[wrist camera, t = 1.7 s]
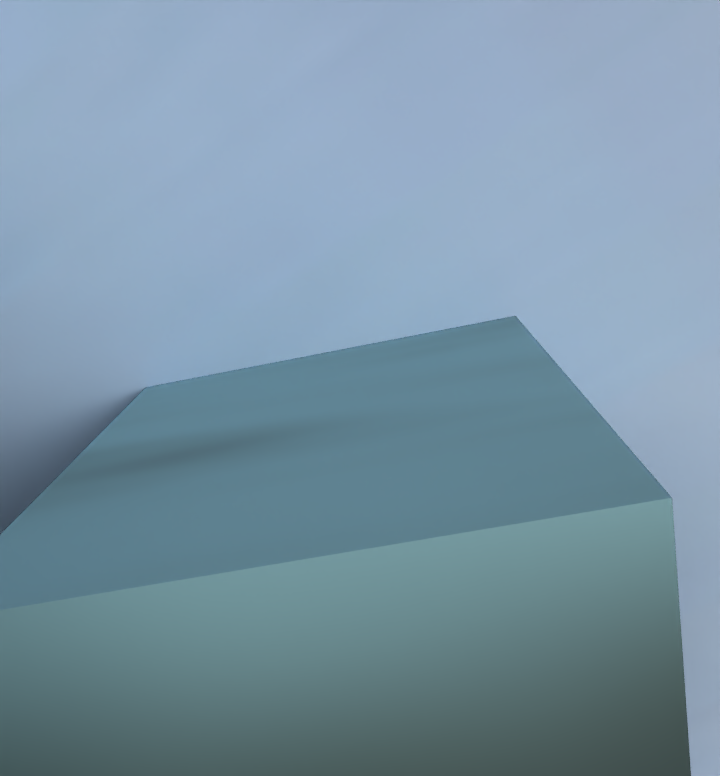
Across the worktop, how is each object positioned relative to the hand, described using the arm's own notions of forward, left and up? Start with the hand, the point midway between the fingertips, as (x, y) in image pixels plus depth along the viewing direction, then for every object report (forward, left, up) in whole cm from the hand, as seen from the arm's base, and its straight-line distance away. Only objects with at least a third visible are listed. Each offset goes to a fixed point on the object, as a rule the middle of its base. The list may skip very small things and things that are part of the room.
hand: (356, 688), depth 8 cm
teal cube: (0, 0, -4) cm, 4 cm away
